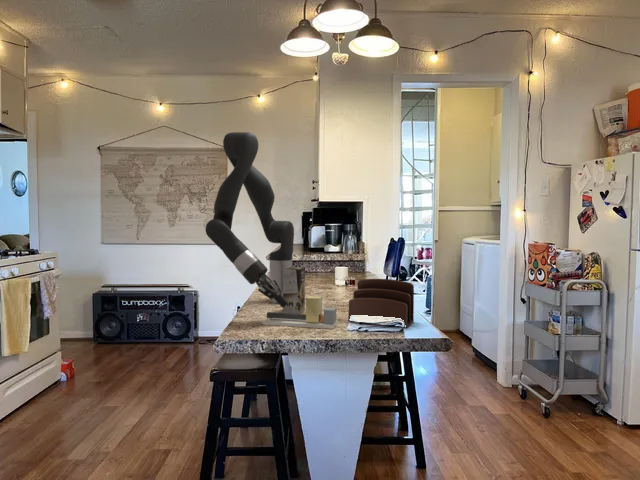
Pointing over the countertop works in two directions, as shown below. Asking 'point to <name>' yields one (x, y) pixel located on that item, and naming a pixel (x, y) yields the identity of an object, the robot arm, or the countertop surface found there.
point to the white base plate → (302, 319)
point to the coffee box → (294, 289)
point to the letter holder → (383, 299)
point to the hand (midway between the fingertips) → (285, 305)
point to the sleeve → (313, 308)
